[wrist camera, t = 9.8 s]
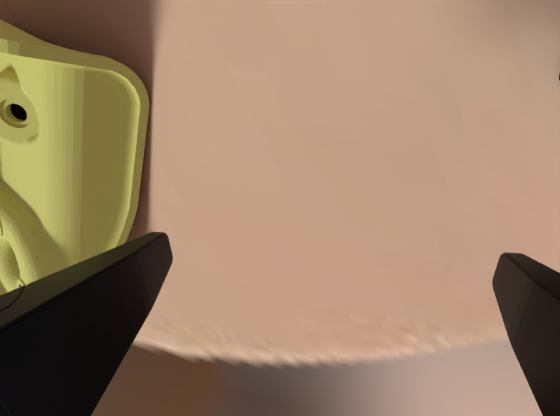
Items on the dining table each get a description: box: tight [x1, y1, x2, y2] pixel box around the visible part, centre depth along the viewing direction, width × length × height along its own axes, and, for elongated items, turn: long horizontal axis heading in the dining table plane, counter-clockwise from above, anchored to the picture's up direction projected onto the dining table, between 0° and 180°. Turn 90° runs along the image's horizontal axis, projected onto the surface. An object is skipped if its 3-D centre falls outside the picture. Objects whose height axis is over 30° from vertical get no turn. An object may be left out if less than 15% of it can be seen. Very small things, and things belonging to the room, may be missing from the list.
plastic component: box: [0, 19, 150, 295], centre depth 23 cm, size 20×7×10 cm
